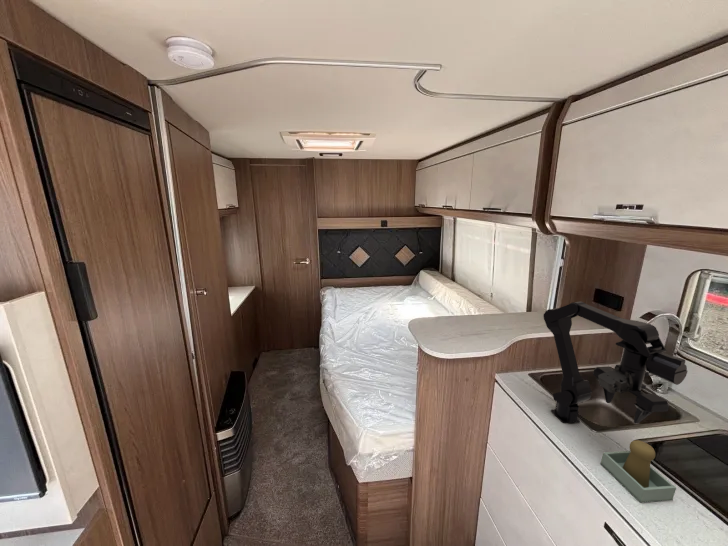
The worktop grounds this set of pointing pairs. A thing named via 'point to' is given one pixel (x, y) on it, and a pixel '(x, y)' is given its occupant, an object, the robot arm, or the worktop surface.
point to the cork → (639, 462)
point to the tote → (657, 483)
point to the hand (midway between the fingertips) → (621, 412)
